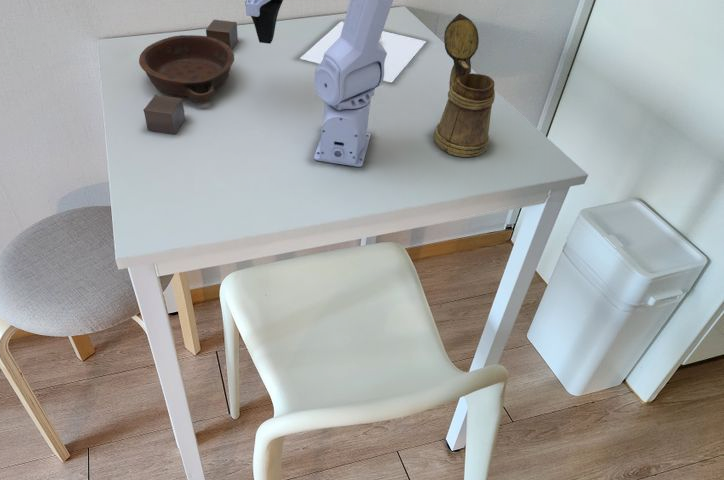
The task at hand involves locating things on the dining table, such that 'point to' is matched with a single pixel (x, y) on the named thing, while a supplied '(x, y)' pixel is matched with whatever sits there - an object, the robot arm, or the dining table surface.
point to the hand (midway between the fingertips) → (265, 41)
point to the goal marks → (170, 110)
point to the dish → (188, 65)
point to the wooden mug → (465, 95)
